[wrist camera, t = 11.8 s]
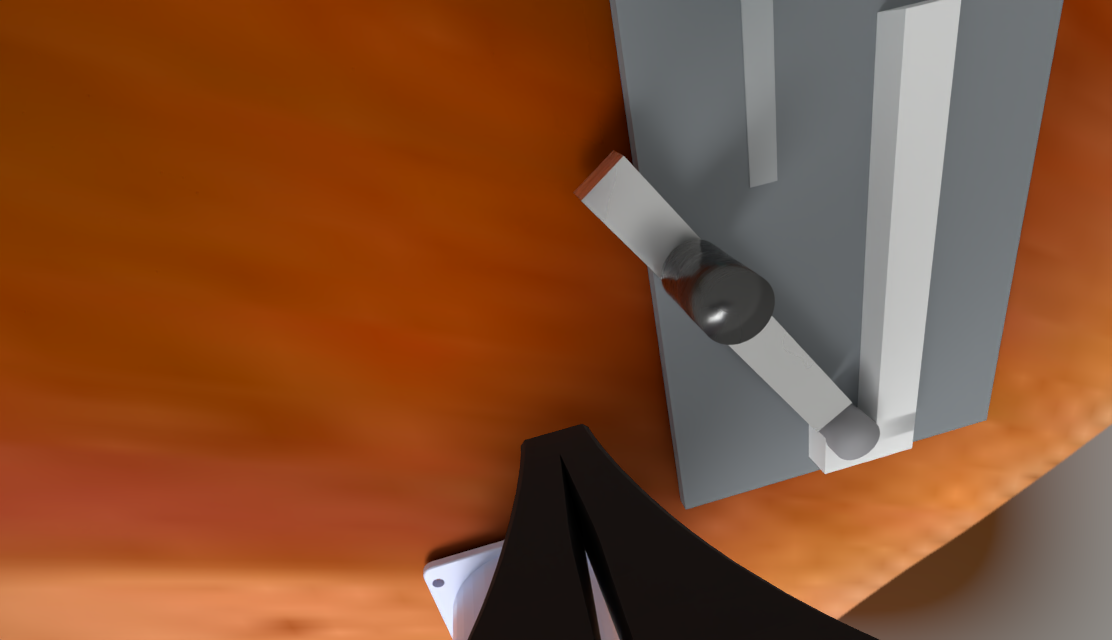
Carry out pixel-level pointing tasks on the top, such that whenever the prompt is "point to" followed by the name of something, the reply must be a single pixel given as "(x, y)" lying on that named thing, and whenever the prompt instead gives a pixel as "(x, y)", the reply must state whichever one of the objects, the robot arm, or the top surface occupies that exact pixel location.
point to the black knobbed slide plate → (710, 287)
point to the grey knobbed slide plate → (838, 209)
